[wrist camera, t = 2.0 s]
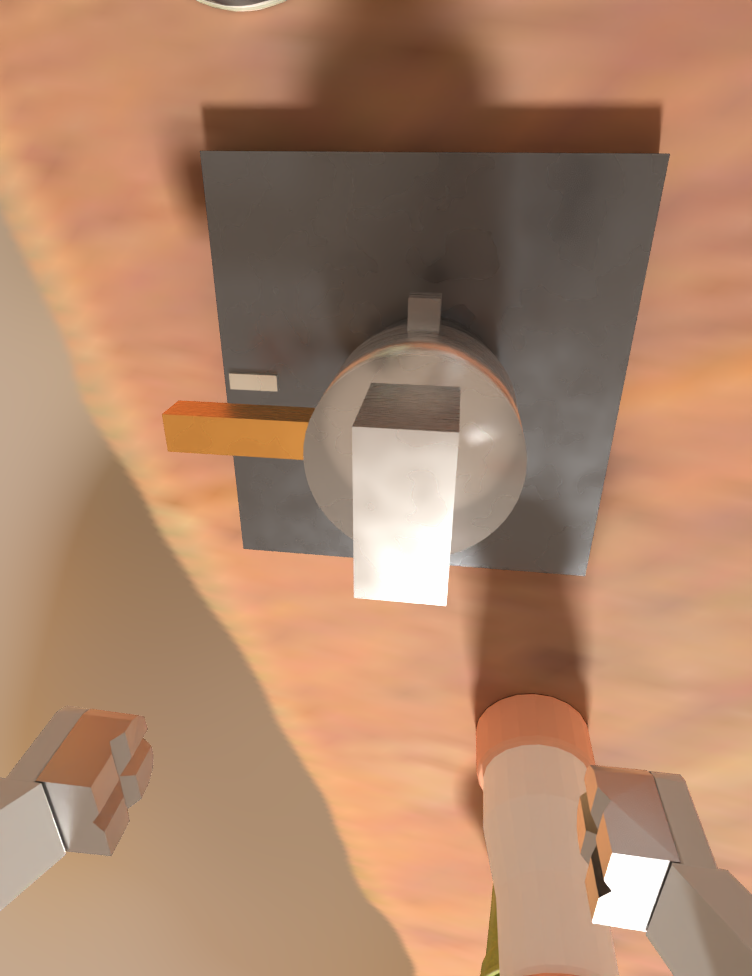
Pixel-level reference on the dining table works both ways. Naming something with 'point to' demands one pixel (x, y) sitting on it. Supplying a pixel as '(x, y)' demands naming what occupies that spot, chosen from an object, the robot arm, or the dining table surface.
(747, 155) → the dining table surface
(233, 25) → the dining table surface
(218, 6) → the coffee can
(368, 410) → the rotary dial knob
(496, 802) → the pepper shaker
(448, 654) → the dining table surface
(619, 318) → the post plate
